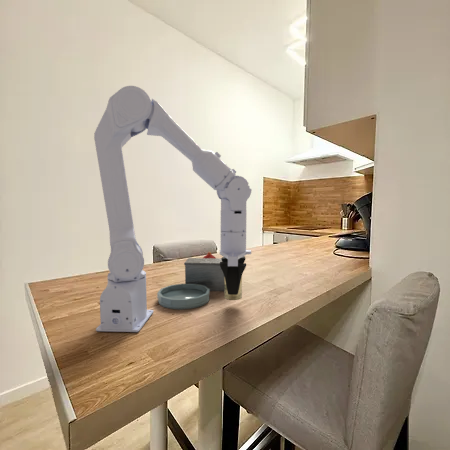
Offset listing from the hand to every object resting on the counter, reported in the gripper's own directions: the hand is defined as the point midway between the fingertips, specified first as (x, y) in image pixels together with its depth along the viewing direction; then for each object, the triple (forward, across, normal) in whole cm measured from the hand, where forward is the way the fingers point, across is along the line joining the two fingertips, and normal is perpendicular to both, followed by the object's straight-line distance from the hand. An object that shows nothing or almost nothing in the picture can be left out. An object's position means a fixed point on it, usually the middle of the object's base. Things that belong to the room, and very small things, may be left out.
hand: (233, 290), depth 62 cm
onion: (+4, +26, +8) cm, 27 cm away
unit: (+4, +14, +7) cm, 16 cm away
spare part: (+1, 0, 0) cm, 1 cm away
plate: (+4, +4, +12) cm, 13 cm away
